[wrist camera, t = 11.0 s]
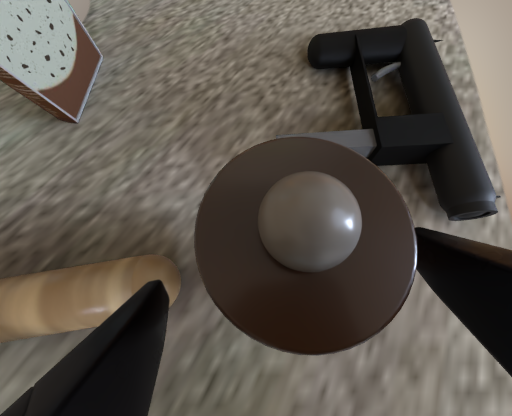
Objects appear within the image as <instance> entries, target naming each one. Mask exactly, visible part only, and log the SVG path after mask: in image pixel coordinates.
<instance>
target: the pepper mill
mask: <svg viewBox="0 0 512 416" xmlns="http://www.w3.org/2000/svg"><path fill="white" fill-rule="evenodd" d="M194 248H195V255H196V262H197V265H198V269H199V273H200V276H201V278H202V281H203V283H204V285H205V288H206V290H207V292H208V293H209V295H210V297H211V298H212V300H213V302H214V303H215V305H216V306H217V307H218V309H219V310H220V311H221V312H222V314H223V315H224V316H225V317H226V318H227V319H228V320H229V321H230V322H231V323H232V324H233V325H234V326H235V327H236V328H238V329H239V330H240V331H242V332H243V333H245V334H246V335H247V336H249V337H250V338H252V339H254V340H256V341H258V342H260V343H262V344H264V345H265V346H268V347H271V348H274V349H277V350H279V351H282V352H288V353H293V354H298V355H325V354H334V353H337V352H341V351H345V350H348V349H351V348H353V347H355V346H358V345H360V344H362V343H364V342H366V341H367V340H369V339H370V338H372V337H373V336H375V335H376V334H378V333H379V332H380V331H381V330H382V329H384V328H385V327H386V326H387V325H388V324H389V323H390V322H391V321H392V320H393V318H394V317H395V316H396V315H397V313H398V312H399V311H400V309H401V308H402V306H403V304H404V302H405V301H406V299H407V297H408V295H409V292H410V290H411V287H412V284H413V281H414V277H415V272H416V267H417V239H416V233H415V228H414V224H413V220H412V218H411V215H410V212H409V209H408V207H407V205H406V203H405V201H404V199H403V197H402V196H401V194H400V193H399V191H398V190H397V188H396V187H395V185H394V184H393V183H392V181H391V180H390V179H389V178H388V177H387V176H386V174H385V173H384V172H382V171H381V170H380V169H379V168H378V167H377V166H376V165H375V164H374V163H372V162H371V161H370V160H368V159H367V158H366V157H364V156H362V155H361V154H359V153H357V152H356V151H354V150H352V149H350V148H348V147H345V146H343V145H341V144H338V143H335V142H332V141H328V140H324V139H319V138H312V137H286V138H279V139H274V140H270V141H266V142H264V143H261V144H258V145H255V146H253V147H251V148H249V149H247V150H245V151H244V152H242V153H241V154H239V155H238V156H236V157H235V158H234V159H232V160H231V161H230V162H229V163H227V164H226V165H225V166H224V167H223V169H222V170H221V171H220V172H219V173H218V174H217V175H216V177H215V178H214V179H213V181H212V182H211V183H210V185H209V187H208V189H207V191H206V192H205V194H204V197H203V199H202V202H201V204H200V207H199V210H198V214H197V218H196V224H195V232H194Z"/></svg>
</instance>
